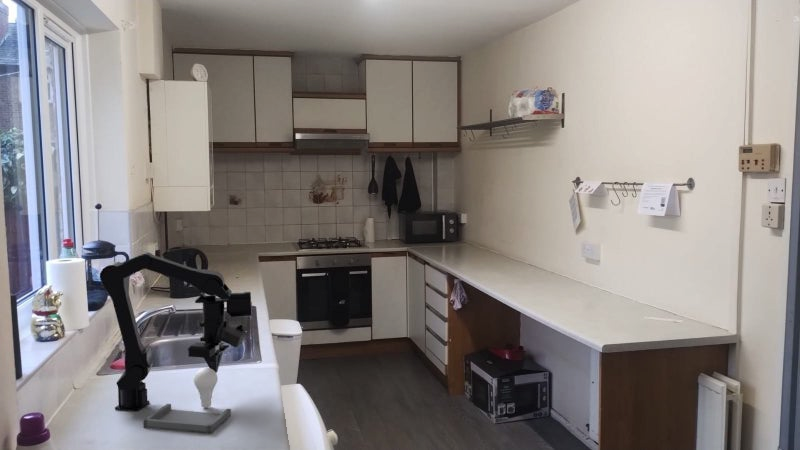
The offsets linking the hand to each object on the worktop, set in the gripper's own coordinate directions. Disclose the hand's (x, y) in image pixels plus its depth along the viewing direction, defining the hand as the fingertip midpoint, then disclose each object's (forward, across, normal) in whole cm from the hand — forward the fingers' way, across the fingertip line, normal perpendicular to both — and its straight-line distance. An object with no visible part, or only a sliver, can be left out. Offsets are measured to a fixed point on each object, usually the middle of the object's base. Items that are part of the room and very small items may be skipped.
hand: (214, 373), depth 172 cm
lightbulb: (+8, -5, 0) cm, 10 cm away
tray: (+8, -15, 0) cm, 17 cm away
